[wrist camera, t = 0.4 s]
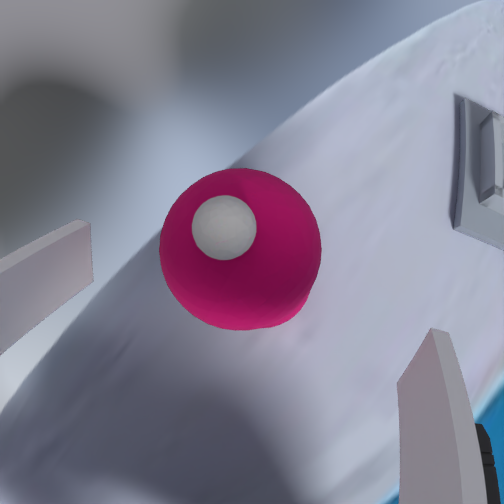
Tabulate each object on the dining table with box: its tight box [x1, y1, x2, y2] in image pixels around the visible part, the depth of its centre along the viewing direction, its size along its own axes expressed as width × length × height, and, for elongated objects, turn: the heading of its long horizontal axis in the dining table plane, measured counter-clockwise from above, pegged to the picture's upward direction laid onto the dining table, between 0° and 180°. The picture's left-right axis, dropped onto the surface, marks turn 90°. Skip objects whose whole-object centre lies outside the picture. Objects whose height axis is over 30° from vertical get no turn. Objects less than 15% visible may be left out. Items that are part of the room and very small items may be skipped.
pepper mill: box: [159, 168, 322, 330], centre depth 18 cm, size 7×7×20 cm
